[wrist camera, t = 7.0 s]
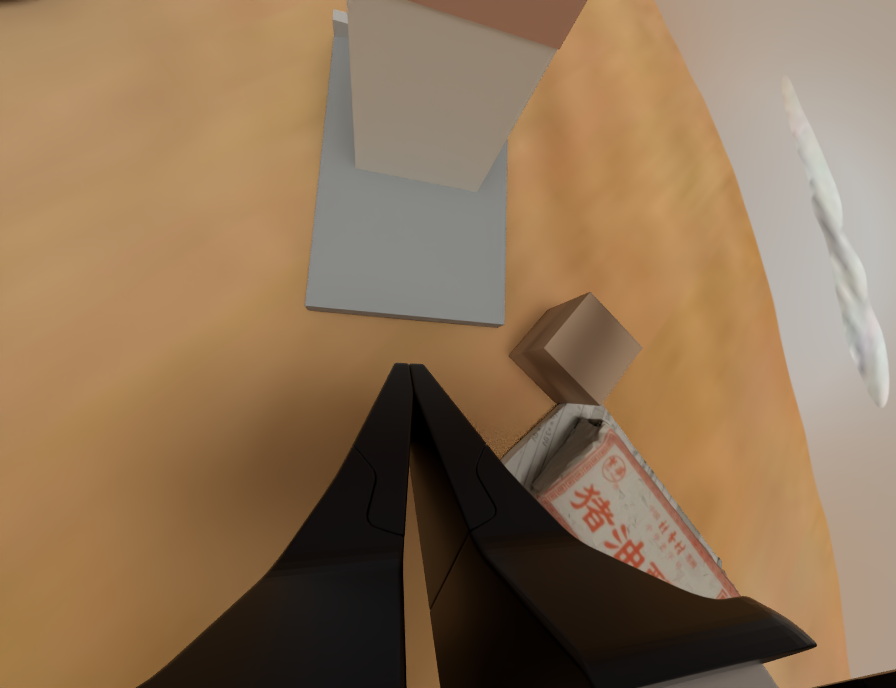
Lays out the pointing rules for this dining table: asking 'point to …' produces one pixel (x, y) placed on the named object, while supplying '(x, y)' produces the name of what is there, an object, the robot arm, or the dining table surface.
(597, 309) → the walnut block
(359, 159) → the carton
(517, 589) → the robot arm
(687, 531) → the packaged product
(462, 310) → the podium
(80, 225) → the dining table surface
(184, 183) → the dining table surface
